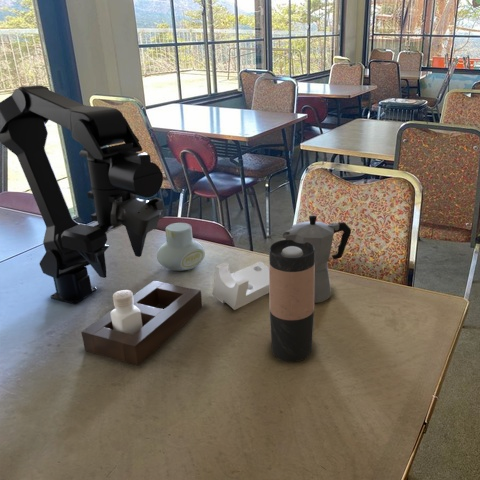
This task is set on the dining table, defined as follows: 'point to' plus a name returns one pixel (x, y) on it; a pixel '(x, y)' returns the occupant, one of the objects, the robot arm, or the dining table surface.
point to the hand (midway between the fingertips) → (121, 266)
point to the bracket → (240, 284)
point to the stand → (144, 323)
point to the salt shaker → (125, 313)
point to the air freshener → (180, 248)
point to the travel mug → (291, 299)
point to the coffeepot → (320, 249)
